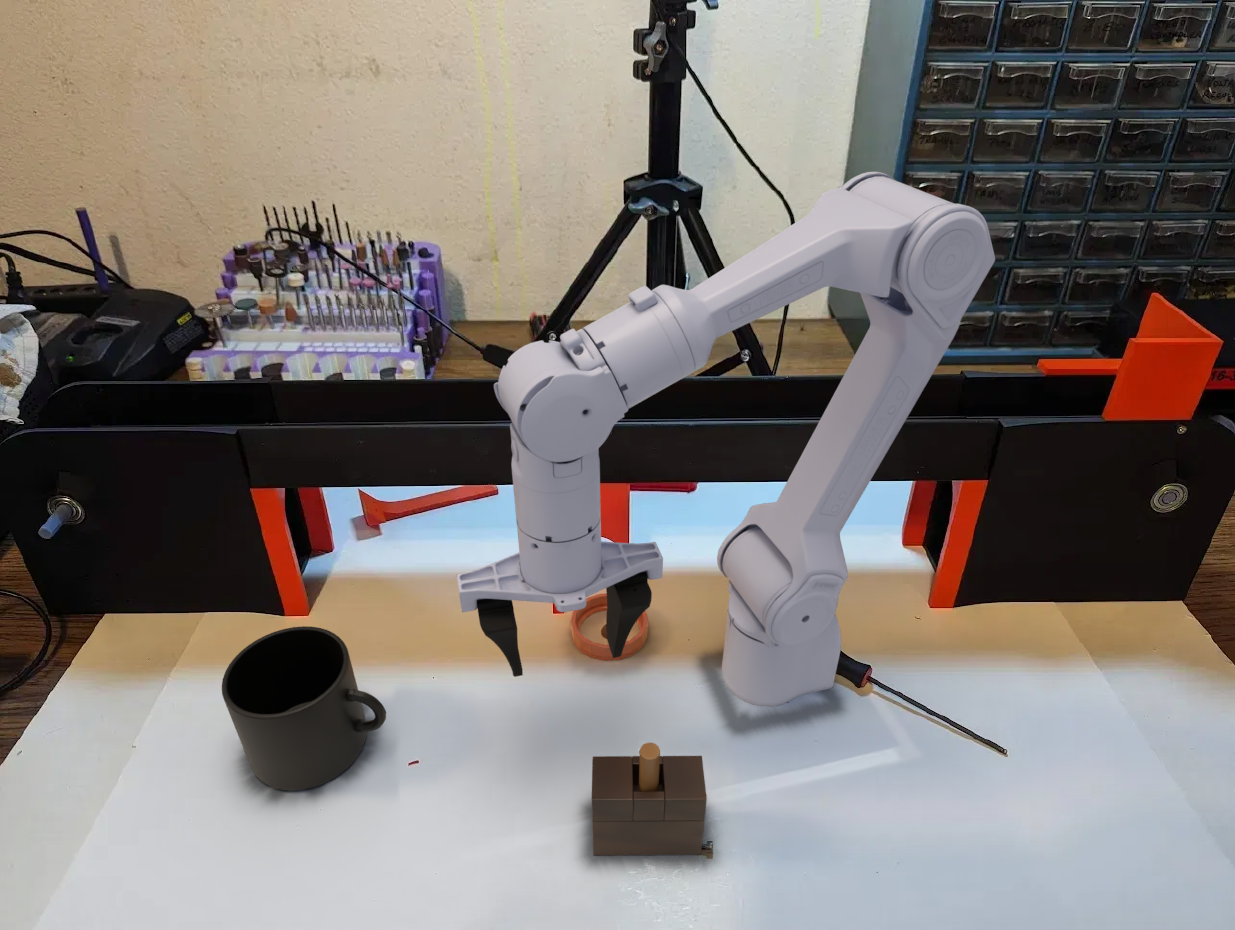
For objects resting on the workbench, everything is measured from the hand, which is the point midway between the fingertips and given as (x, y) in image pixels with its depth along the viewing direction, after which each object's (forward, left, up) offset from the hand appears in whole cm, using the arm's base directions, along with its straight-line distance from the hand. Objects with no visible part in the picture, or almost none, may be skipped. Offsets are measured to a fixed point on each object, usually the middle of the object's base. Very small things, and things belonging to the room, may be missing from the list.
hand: (565, 657), depth 62 cm
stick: (-4, +10, -6) cm, 12 cm away
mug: (+20, -5, -11) cm, 23 cm away
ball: (-6, -10, -9) cm, 15 cm away
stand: (-4, +9, -10) cm, 15 cm away
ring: (-6, -10, -10) cm, 16 cm away
